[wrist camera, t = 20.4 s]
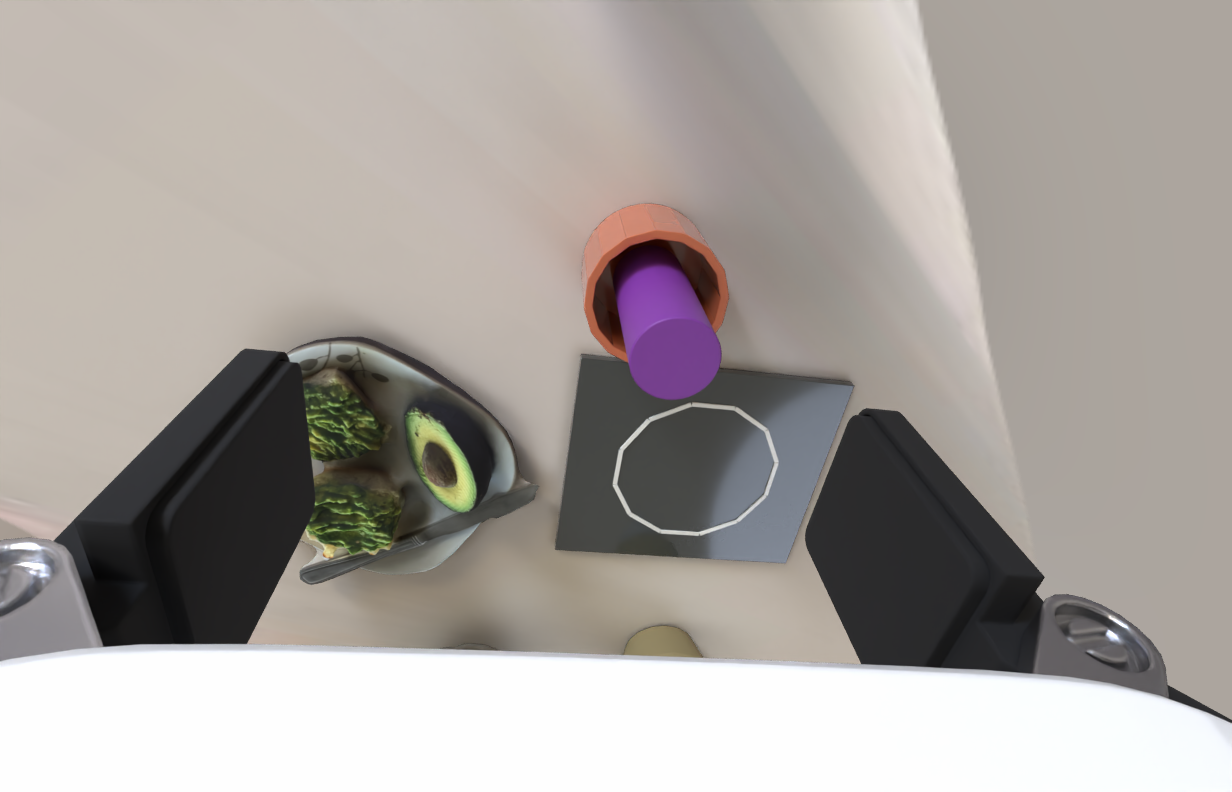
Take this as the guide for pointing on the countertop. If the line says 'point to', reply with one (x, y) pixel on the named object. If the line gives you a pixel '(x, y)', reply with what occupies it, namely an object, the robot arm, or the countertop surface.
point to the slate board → (694, 463)
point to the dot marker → (664, 325)
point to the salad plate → (397, 461)
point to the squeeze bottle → (662, 643)
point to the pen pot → (635, 231)
